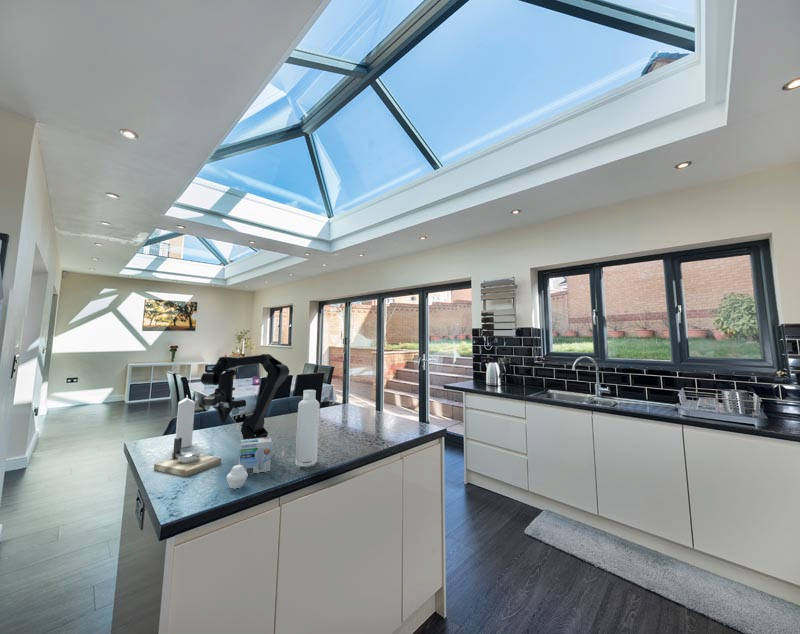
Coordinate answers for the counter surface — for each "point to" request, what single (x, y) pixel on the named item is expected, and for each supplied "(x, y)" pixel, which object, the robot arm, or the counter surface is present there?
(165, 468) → the dial base plate
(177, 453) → the capstan dial
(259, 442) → the light bulb box
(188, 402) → the milk
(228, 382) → the robot arm
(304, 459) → the bottle
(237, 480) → the muffin
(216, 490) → the counter surface
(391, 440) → the counter surface
